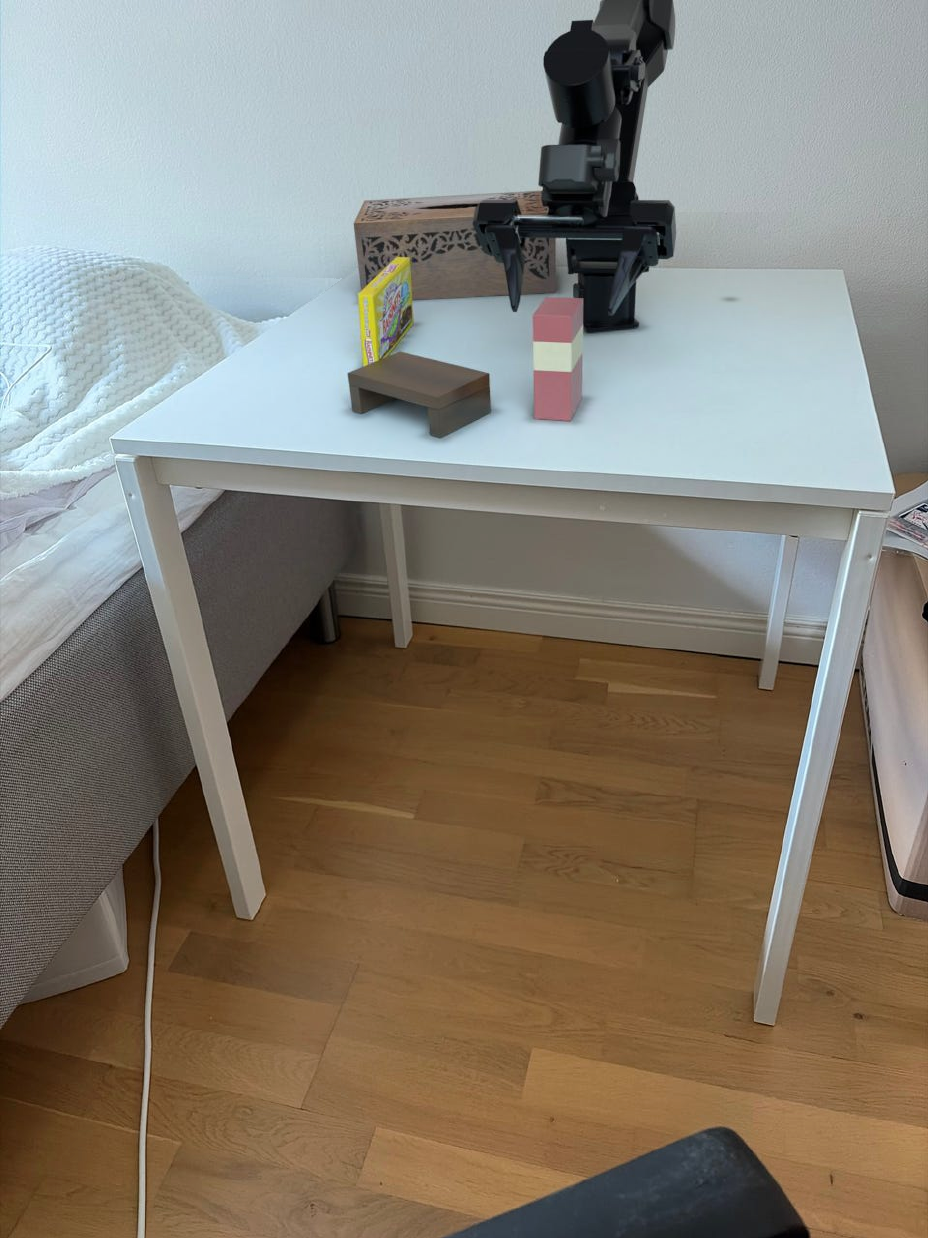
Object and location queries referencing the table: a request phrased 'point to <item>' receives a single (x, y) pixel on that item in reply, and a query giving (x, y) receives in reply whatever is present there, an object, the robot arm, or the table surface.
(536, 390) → the packet
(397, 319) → the candy box
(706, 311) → the table surface
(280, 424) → the table surface
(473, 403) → the shelf
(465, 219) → the tissue box cover
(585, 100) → the robot arm
